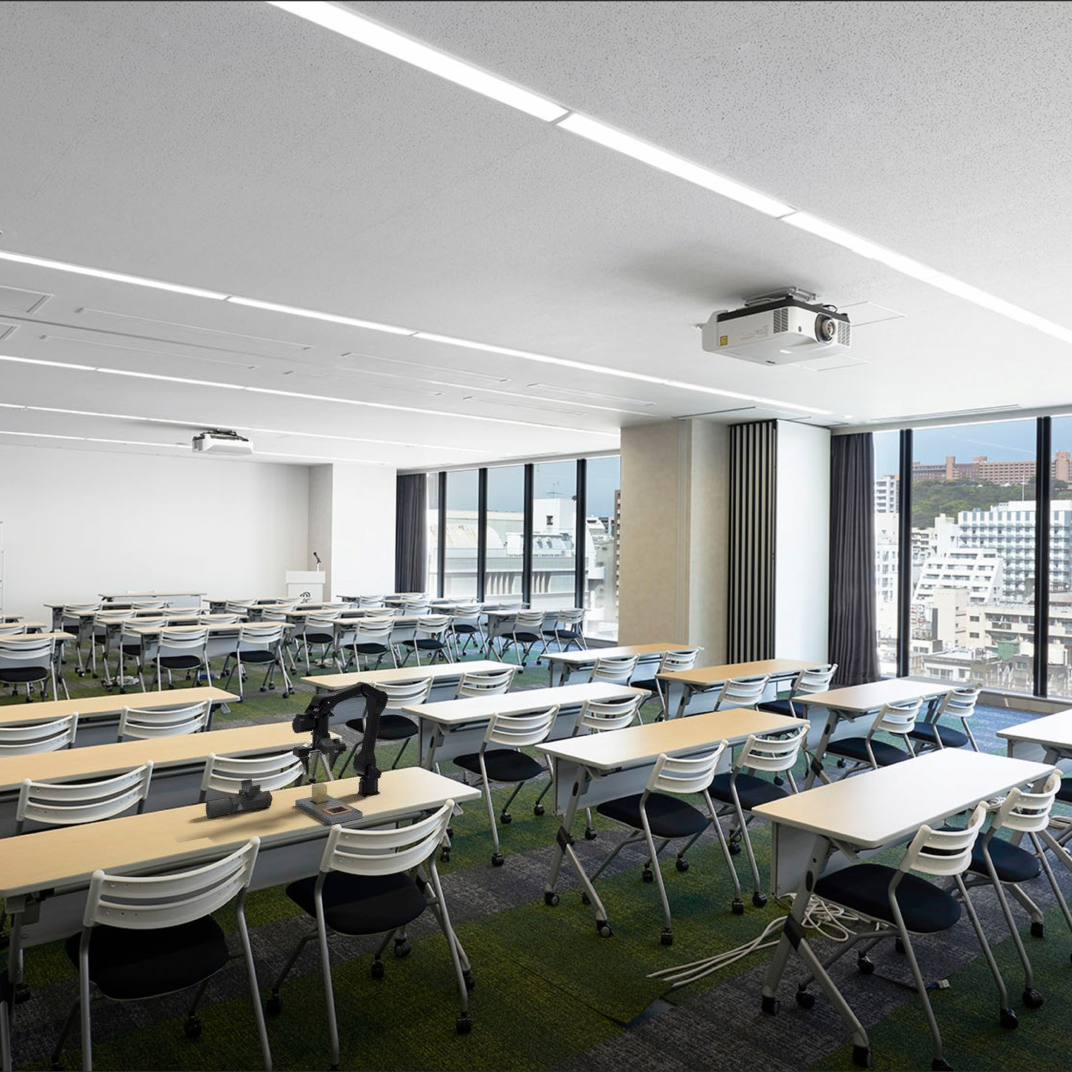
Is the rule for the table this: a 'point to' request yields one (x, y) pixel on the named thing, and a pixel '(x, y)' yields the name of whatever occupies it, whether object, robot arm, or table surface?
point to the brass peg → (319, 793)
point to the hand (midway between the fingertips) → (319, 772)
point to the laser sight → (240, 801)
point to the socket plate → (329, 810)
